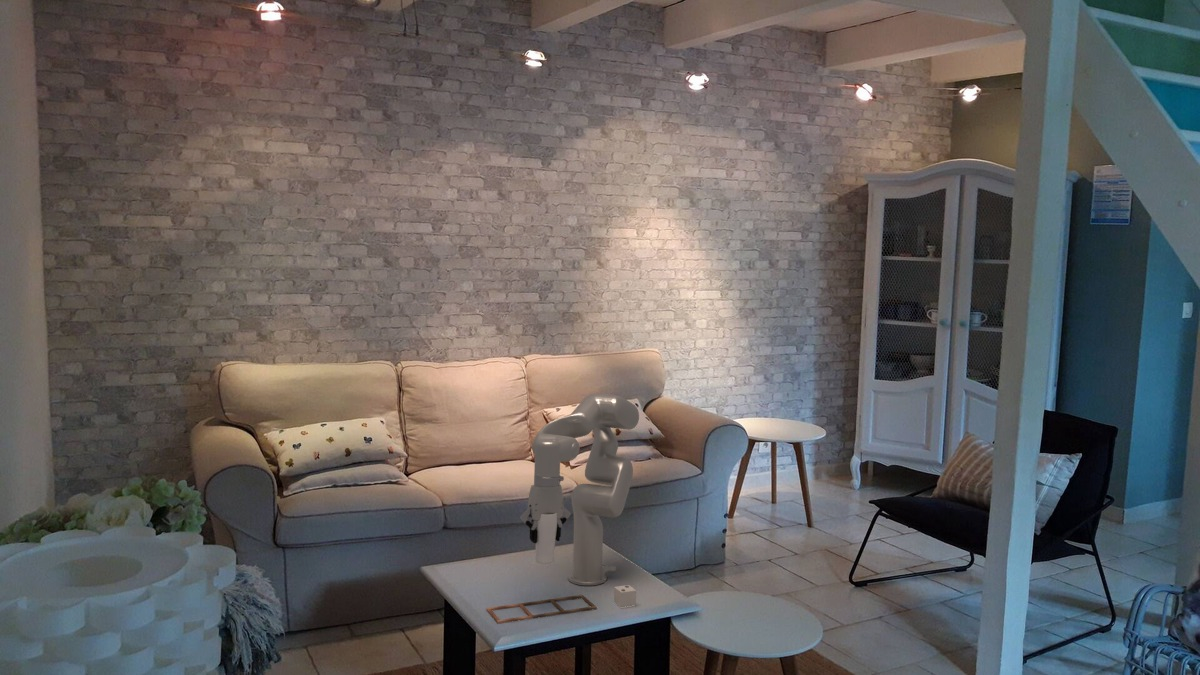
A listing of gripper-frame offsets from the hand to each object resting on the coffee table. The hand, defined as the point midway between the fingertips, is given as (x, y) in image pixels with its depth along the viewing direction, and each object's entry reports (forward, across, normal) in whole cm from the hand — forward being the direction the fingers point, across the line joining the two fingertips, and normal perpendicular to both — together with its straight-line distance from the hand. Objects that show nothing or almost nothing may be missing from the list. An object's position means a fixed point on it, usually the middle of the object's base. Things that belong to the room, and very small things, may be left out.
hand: (545, 540), depth 269 cm
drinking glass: (+7, 0, 0) cm, 7 cm away
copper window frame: (+21, 0, -1) cm, 21 cm away
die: (+21, -25, +5) cm, 33 cm away
